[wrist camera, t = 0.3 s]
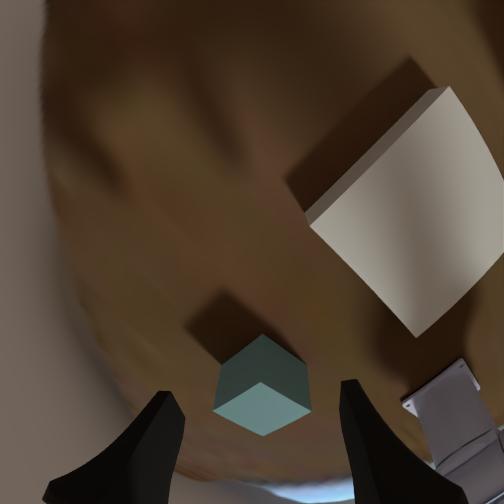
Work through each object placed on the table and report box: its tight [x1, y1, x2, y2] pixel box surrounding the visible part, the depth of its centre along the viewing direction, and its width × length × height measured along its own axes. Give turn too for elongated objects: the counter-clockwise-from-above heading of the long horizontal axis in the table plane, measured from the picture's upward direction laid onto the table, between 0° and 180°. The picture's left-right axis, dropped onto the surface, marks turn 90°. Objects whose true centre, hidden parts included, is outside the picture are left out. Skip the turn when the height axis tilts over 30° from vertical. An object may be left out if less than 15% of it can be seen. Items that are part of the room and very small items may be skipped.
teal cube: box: [213, 334, 312, 436], centre depth 21 cm, size 5×5×5 cm
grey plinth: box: [304, 86, 504, 338], centre depth 16 cm, size 12×12×3 cm
